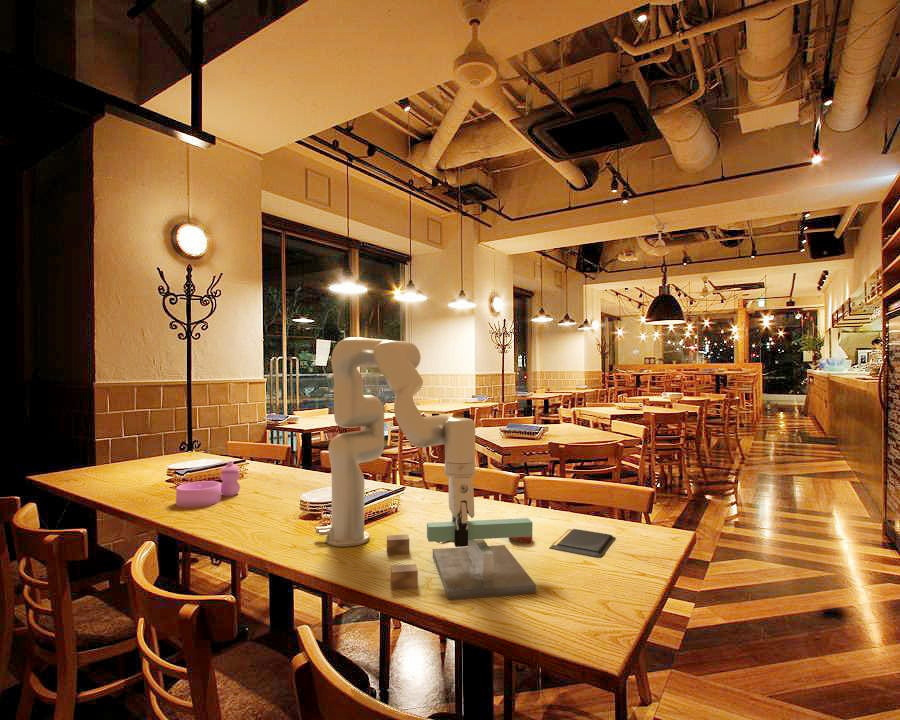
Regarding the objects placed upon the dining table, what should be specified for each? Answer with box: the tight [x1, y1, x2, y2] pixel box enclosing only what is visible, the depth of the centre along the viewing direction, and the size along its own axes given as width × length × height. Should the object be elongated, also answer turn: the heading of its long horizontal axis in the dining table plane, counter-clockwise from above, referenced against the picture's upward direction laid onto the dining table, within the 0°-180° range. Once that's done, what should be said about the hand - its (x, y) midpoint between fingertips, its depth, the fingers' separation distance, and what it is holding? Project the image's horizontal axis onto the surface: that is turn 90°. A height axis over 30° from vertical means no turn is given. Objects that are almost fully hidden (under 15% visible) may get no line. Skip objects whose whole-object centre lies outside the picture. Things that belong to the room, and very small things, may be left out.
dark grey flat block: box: [548, 528, 617, 559], centre depth 146 cm, size 20×2×15 cm
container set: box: [175, 461, 241, 509], centre depth 194 cm, size 25×15×13 cm, turn 151°
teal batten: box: [426, 517, 533, 543], centre depth 124 cm, size 4×26×4 cm, turn 100°
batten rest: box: [386, 534, 419, 591], centre depth 127 cm, size 6×26×4 cm, turn 10°
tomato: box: [508, 535, 533, 544], centre depth 148 cm, size 8×7×7 cm
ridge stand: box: [432, 539, 537, 601], centre depth 123 cm, size 20×26×8 cm
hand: (459, 542), depth 123 cm, fingers closed on teal batten, 3 cm apart
